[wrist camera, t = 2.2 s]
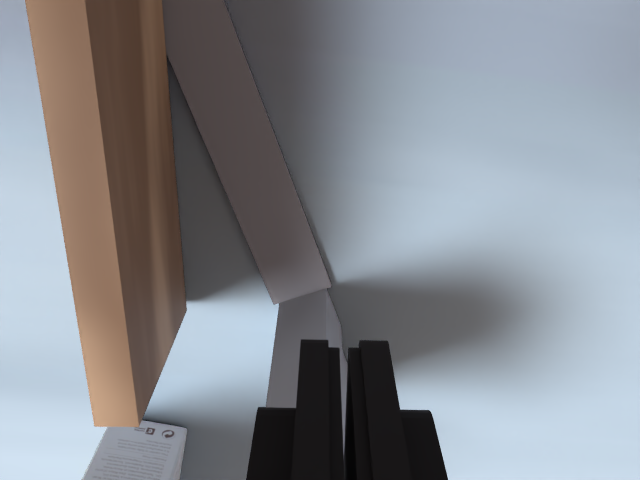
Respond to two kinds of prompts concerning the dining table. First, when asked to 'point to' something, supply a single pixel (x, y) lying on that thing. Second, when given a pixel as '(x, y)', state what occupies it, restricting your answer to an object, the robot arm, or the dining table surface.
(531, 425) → the dining table surface
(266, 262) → the doorframe
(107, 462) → the skincare box
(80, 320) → the door
